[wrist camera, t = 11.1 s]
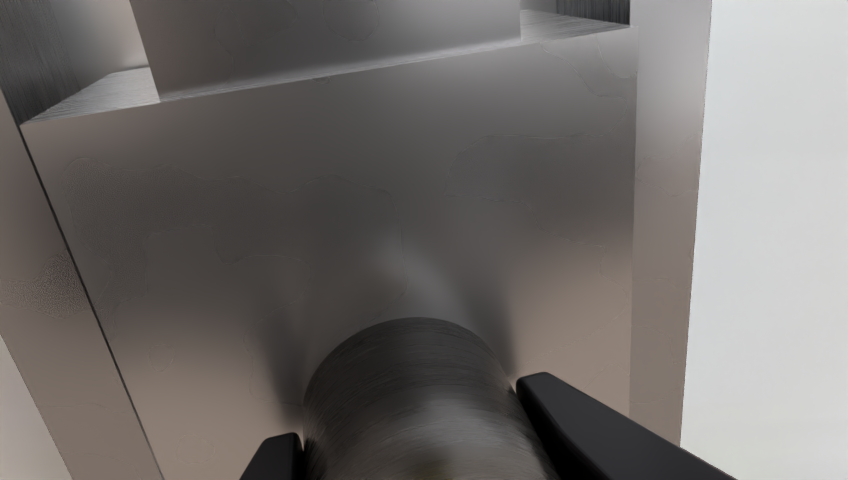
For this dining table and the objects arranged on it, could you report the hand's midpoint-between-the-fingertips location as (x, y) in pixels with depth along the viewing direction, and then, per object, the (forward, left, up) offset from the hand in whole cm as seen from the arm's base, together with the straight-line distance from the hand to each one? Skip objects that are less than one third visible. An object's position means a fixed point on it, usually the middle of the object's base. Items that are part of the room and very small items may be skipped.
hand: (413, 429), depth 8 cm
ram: (0, -3, -4) cm, 5 cm away
